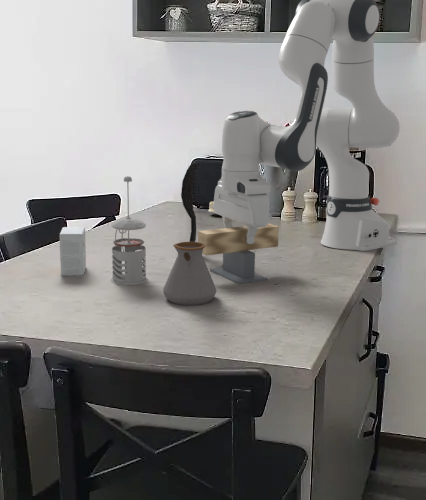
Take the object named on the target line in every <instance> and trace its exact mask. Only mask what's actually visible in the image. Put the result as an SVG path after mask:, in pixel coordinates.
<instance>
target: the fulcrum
mask: <svg viewBox="0 0 426 500" xmlns="http://www.w3.org/2000/svg"><path fill="white" fill-rule="evenodd" d="M255 260H256V252H254V251H252V250H247V251H239V252H231V253H223V254H222V266H218V267H211V268H210V269H209V273H210V272H211V273H212V274H215V275H217V276H220V277H222V278H224V279H227V280H228V281H230V282H233V283H235V284H237V285H241V284H248V283H249V284H251V283H256V282H258V283H259V282H262V281H263V282H264V281H269V280H268V279H269V278H268V277H266V276H264V275H261V274H259V273H257V272H256V271H255V270H256V268H255V267H256V261H255Z"/></svg>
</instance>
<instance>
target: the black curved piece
mask: <svg viewBox="0 0 426 500" xmlns="http://www.w3.org/2000/svg"><path fill="white" fill-rule="evenodd" d="M199 167H200V164H199V163H197V161H196V162H195V161H193V162H191V164H190V165H189V166H188V168H187V170H186V172H185V174H184V176H183V179H182V182H181V183H182V184H181V191H180V192H181V193H180V197H181V198H180V199H181V201H182V207H184V210H185V211H186V213H187V215H188V216H189V218H190V227H191V228H190V236H189V240H188V242H196V238H197V216H196V212H195V209H197V207H195V206H196V203H194V200H195V201H196V199H197V198H196V197H197V196H195V195H196V194H197V193H195V192H196V189H197V187H195V185H197V183H198V182H197V181H194V180H198V179H197V177H195V175H196V176H197V168H199ZM193 196H194V198H193ZM194 205H195V206H194Z"/></svg>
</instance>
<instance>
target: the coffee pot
mask: <svg viewBox="0 0 426 500" xmlns="http://www.w3.org/2000/svg"><path fill="white" fill-rule="evenodd" d="M173 247H174V249H175V251H176V252H177V256H176V259H175V261H174V263H173V266H172V268H171V270H170V272H169V274H168V277H167V279H166V282H165V284H164V286H163V288H162V291H163V295H164V297H165V299H167V301H169V302H171V303H173V304H175V305H182V306H198V305H199V306H200V305H203V304H207V303H209V302H211V301H212V300H213V299H214V298H215V296H216V294H217V288H216V285H215V282H214V280H213V278H212V276H211V274H210V269H209V268H208V266H207V264H206V261H205V258H204V255H203V254H202V252H203V248H205V244H203V243H199V242H198V241H195V242H189V241H181V242H177V243H174V244H173Z"/></svg>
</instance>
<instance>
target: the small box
mask: <svg viewBox="0 0 426 500" xmlns="http://www.w3.org/2000/svg"><path fill="white" fill-rule="evenodd" d="M86 248H87V247H86V227H84V226H69V227H68V226H64V227H63V226H62V228H61V230H60V232H59V253H60V254H59V255H60V256H59V257H60V259H59V260H60V276H84V274H85V272H86V268H87V254H86V253H87V252H86V251H87V250H86Z"/></svg>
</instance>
